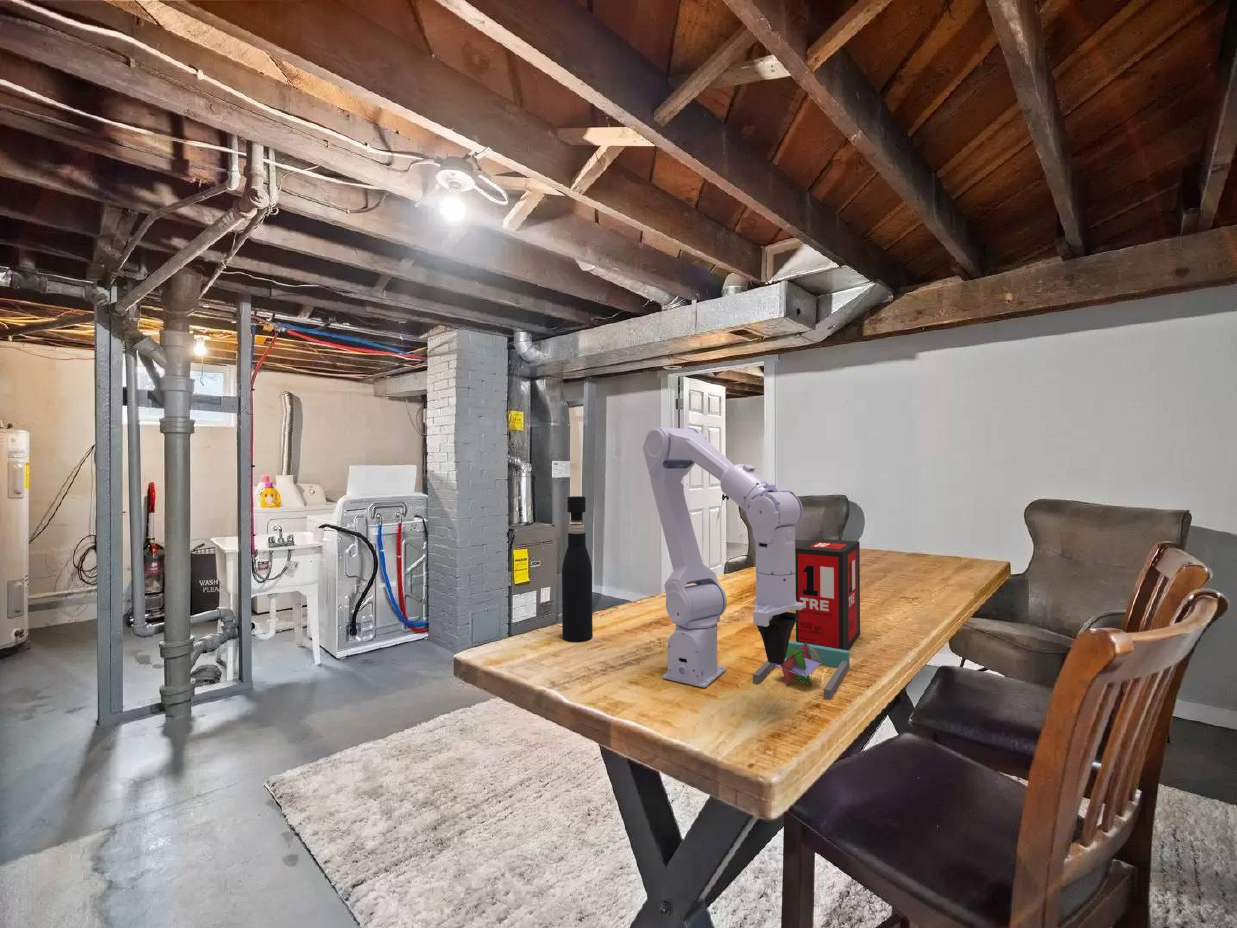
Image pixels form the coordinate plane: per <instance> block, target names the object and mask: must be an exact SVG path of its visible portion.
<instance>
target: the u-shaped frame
mask: <svg viewBox="0 0 1237 928" xmlns="http://www.w3.org/2000/svg"><path fill="white" fill-rule="evenodd" d="M802 644H803V645H804V643H800V642H796V641H793V640H789V643H788V646H791V647H794V648H796V647H797V648H796V649H800V648H801V647H802V646H803V645H802ZM800 645H801V646H800ZM808 645H809V646H811V647H812V648H813V649H814V650H816V651H817V653H818V656H819V659H820V662H821V663H822V664H821V665H820V666H823V665H826V666H825V667H829V666H830V667H829V668H835V670H834V672H833V674H832V676H830V679H829V680H828V681H827V683H826V685H825V687H824V688H823V699H824V700H829V701H831V700H832V698H833V697H834V694H835V693H836V691H837V690H838V688H839V686H840V685H841V682H842V681H843V679H844V678H845V676H846V674H847V673H848V671H849V669H850V668H851V665H850V660H851V659H850V650H849V651H848V650H842V649H836V648H830V647H824V646H818V645H812V644H808ZM808 645H807V648H808V651H809V655H810V656H811V651H810V649H809V647H808ZM798 646H799V647H798ZM810 658H811V657H810ZM811 660H812V659H811ZM773 664H774V663H769V662H768V659H767V660H766V661H765V662H764V663H763V664H762V665H760V667H759V668H757V669H756V670H755V672H753V674H752V684H754V683H756V685H760V684H761V683H762V682H763V680H765V679H766V678H767V676H768V675H769V674H771V672H772V671H773V670H774V669H776V667H774V665H773ZM773 668H774V669H773ZM772 669H773V670H772ZM771 670H772V671H771ZM770 671H771V672H770ZM767 674H768V675H767ZM766 675H767V676H766ZM761 681H762V682H761ZM760 682H761V683H760ZM759 683H760V684H759Z"/></svg>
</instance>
